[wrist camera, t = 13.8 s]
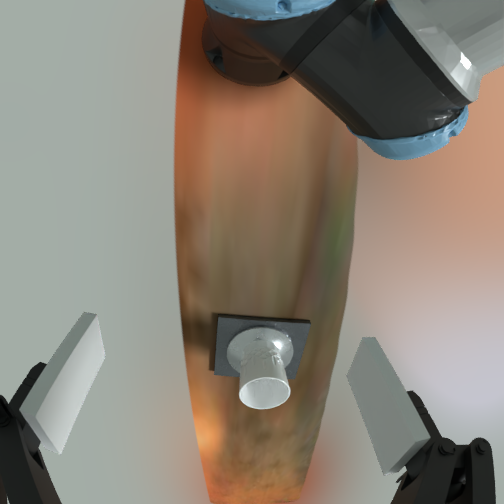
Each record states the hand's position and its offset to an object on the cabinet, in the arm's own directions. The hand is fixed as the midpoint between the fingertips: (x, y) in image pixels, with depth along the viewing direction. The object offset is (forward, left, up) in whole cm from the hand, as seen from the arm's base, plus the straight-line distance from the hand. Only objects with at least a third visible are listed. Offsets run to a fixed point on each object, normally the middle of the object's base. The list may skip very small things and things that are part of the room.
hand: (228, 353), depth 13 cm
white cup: (+26, +7, -30) cm, 40 cm away
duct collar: (+26, +7, -32) cm, 42 cm away
